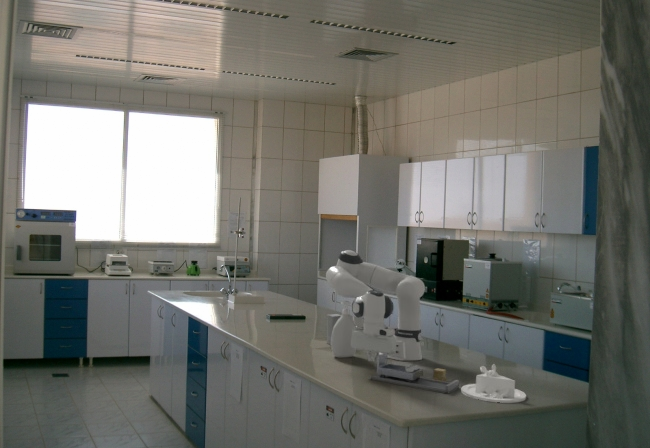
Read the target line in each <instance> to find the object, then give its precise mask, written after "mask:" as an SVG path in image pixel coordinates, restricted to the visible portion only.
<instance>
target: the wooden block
mask: <svg viewBox="0 0 650 448" xmlns="http://www.w3.org/2000/svg"><path fill="white" fill-rule="evenodd" d="M446 379H447V370H446V369H443V368H438V367H437V368H435V369H433V378H432V380H438V381H443V382H446Z"/></svg>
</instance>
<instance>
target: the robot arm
mask: <svg viewBox="0 0 650 448" xmlns="http://www.w3.org/2000/svg"><path fill="white" fill-rule="evenodd" d="M325 279H326V281H327V283H328V285H329V287H330V289H331V290H332V291H333V292H334V293H335V294H336V295H338V296H340V297H342V298H350V299H351V298H354V300H353V301H352V303H351V312H352V313H353V314H354V316H355V317H357V318H360V319H363V327H362V326H361V327H360V326H356V327H354V328H355V329H354V328H353V329H352V338H351V347H352V348H356V349H357V350H362V351H363V350H364V351H365V352H366V353H365V354H366V355H367V358H368V359H367V360H368V362H373V363H377V358H378V356H379V355H382V354H385V353H387V359H391V360H396V361H403V362H404V361H419V360H420V361H421V360H423V356H422V350H421V349H422V348H421V341H422V329H421V323H422V311H421V301H420V298H421V297H423V296H424V294H425V291H426V286H425V283H424V281H423V280H421V279H420V278H419V277H416V276H412V275H410V274H409V275H408V274H406V273H402V272H398V271H395V270H392V269H388V268H386V267H383V266H381V265H378V264H374V263H371V262H365V261H364V260H363V259H362V257H361V256H360V254H359V253H357V251H355V250H354V251H353V250H351V249H344V250H342V251H341V252H339V255H338V259H337V263H336V265H333V266H331V267H329V268H328V269H327V270H326V272H325ZM384 292H385V293H389V294H392V295H396V299H397V312H398V315H397V327H396V328H391V327H389V326H387V325H385V319H388V318H389V317H390V316H391V315H392V314H393V312H394V302H393V300H392V299H391V298H390V297H389V295H385V294H384ZM372 352H373V354H374V355H372V354H371V353H372Z"/></svg>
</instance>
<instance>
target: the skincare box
mask: <svg viewBox="0 0 650 448" xmlns="http://www.w3.org/2000/svg"><path fill="white" fill-rule="evenodd" d="M341 316H342V314H339V313H334V314H326V344H327V345H330V346H331V336H332V331H333V327H334V325H335V324H336V322H337V320H338V319H339V318H340V317H341Z"/></svg>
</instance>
